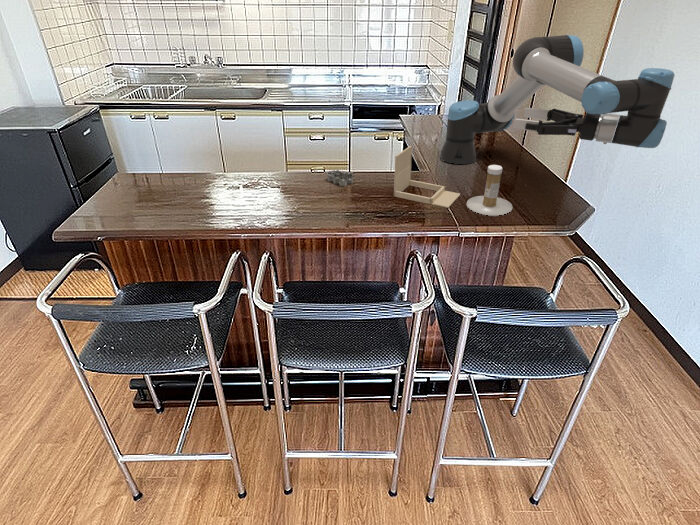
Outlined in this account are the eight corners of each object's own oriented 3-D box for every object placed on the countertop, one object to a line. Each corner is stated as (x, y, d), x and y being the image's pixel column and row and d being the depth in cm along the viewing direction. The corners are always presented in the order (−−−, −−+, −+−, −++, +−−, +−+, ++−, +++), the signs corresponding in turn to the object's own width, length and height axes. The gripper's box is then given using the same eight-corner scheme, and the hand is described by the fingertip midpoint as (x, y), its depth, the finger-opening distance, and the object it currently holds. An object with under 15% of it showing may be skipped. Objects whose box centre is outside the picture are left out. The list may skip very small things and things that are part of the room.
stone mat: (487, 193, 158) (487, 192, 157) (521, 208, 147) (522, 206, 147) (457, 204, 151) (457, 202, 150) (491, 220, 140) (491, 218, 140)
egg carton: (356, 183, 170) (356, 173, 168) (341, 188, 166) (341, 178, 164) (339, 175, 177) (339, 165, 175) (324, 180, 173) (324, 170, 171)
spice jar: (481, 202, 151) (486, 164, 143) (494, 201, 150) (500, 164, 143) (484, 207, 147) (490, 169, 140) (498, 207, 147) (504, 169, 139)
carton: (460, 194, 158) (465, 154, 149) (448, 208, 149) (452, 165, 140) (408, 184, 167) (410, 145, 159) (393, 196, 158) (395, 155, 150)
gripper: (588, 153, 115) (507, 141, 125) (598, 128, 133) (526, 120, 142) (597, 125, 111) (512, 115, 120) (606, 103, 129) (531, 96, 138)
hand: (519, 117), depth 131 cm, fingers open, 13 cm apart
